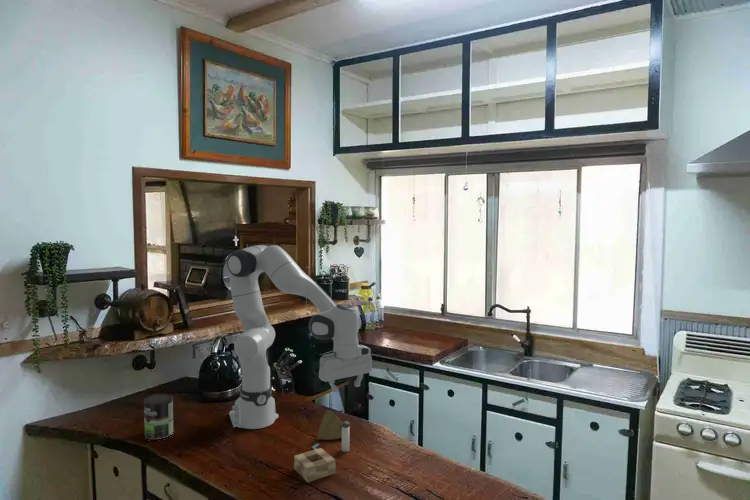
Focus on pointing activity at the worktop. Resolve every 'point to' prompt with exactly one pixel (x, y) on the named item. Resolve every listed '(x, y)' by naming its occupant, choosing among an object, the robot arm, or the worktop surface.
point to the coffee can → (158, 416)
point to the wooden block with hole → (314, 464)
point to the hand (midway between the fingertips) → (346, 388)
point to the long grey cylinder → (345, 436)
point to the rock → (330, 427)
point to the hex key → (315, 446)
